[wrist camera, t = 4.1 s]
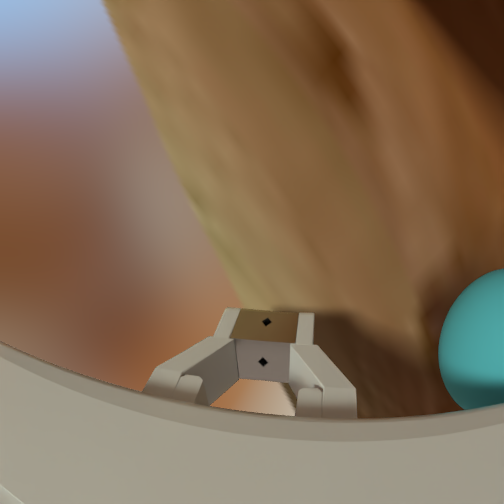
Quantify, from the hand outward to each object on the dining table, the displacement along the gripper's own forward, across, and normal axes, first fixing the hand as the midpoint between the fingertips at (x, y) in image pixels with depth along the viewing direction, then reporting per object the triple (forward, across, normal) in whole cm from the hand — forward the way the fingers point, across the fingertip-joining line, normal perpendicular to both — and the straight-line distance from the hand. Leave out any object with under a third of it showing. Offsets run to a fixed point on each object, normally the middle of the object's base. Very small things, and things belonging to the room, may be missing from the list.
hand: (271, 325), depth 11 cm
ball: (-1, -9, 0) cm, 9 cm away
